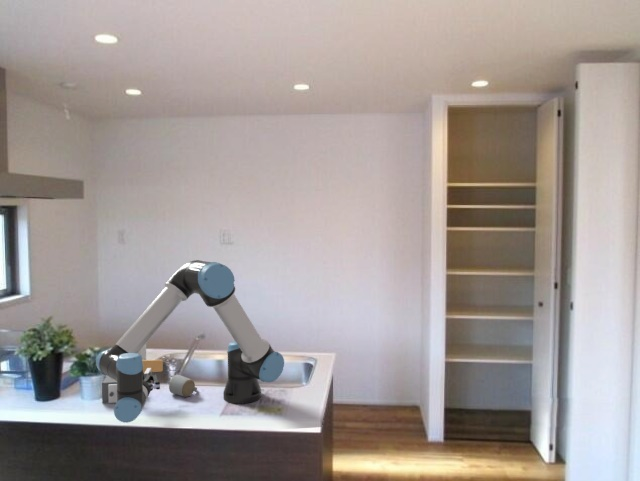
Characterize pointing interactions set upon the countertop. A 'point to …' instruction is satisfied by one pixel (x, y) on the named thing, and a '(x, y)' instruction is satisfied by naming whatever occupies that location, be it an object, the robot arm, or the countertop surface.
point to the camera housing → (106, 388)
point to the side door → (153, 364)
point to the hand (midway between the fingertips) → (149, 371)
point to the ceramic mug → (182, 386)
